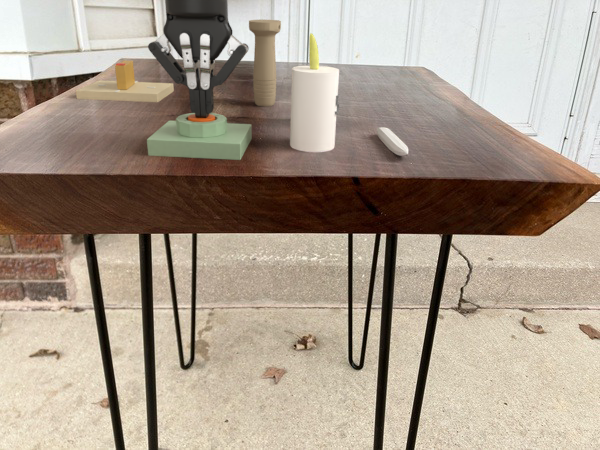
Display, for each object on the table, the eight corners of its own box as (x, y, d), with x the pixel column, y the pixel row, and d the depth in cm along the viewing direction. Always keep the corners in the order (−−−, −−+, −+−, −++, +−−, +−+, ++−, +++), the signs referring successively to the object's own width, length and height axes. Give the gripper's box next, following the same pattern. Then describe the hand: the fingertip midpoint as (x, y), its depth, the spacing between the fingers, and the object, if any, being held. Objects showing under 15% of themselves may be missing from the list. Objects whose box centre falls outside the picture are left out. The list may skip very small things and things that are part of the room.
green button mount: (148, 155, 68) (145, 125, 66) (170, 135, 77) (168, 107, 75) (240, 160, 67) (240, 129, 66) (251, 139, 76) (251, 111, 75)
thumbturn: (126, 83, 96) (123, 59, 94) (135, 83, 96) (132, 59, 94) (117, 89, 91) (114, 64, 89) (126, 89, 91) (124, 64, 89)
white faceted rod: (400, 163, 68) (402, 151, 68) (374, 134, 81) (375, 123, 80) (412, 163, 69) (413, 151, 68) (384, 134, 81) (385, 123, 80)
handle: (245, 116, 89) (243, 21, 82) (257, 108, 94) (257, 19, 88) (272, 119, 88) (273, 23, 81) (283, 111, 93) (284, 20, 87)
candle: (331, 154, 71) (338, 36, 65) (284, 149, 72) (287, 33, 66) (339, 142, 76) (346, 32, 70) (295, 137, 78) (299, 30, 71)
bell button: (185, 132, 70) (184, 119, 69) (192, 125, 73) (191, 112, 72) (212, 133, 69) (212, 120, 69) (217, 126, 73) (217, 114, 72)
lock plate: (77, 108, 90) (74, 89, 89) (101, 96, 100) (99, 79, 98) (158, 111, 90) (156, 93, 88) (174, 99, 99) (173, 82, 98)
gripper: (254, -25, 66) (255, 112, 74) (150, -29, 67) (161, 108, 74) (245, -26, 60) (247, 125, 67) (130, -29, 60) (144, 121, 67)
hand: (202, 116), depth 71 cm, fingers closed
